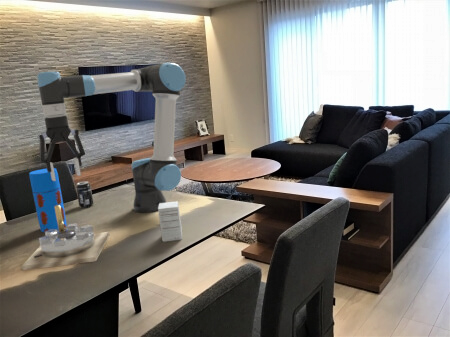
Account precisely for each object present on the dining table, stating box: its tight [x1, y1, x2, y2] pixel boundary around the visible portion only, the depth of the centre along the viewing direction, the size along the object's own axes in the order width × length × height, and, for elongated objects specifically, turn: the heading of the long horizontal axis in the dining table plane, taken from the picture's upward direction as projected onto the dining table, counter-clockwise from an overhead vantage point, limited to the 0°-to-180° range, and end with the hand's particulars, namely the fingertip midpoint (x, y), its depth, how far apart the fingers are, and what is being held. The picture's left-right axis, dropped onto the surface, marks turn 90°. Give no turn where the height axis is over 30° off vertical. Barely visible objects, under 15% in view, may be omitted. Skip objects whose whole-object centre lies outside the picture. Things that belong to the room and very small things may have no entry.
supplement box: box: [157, 200, 183, 242], centre depth 154 cm, size 7×7×13 cm
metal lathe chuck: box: [38, 205, 95, 257], centre depth 150 cm, size 18×18×14 cm
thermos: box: [28, 167, 68, 233], centre depth 177 cm, size 11×11×25 cm
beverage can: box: [75, 180, 94, 209], centre depth 207 cm, size 7×7×12 cm
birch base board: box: [21, 231, 110, 271], centre depth 151 cm, size 24×24×2 cm
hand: (66, 177), depth 155 cm, fingers open, 8 cm apart
